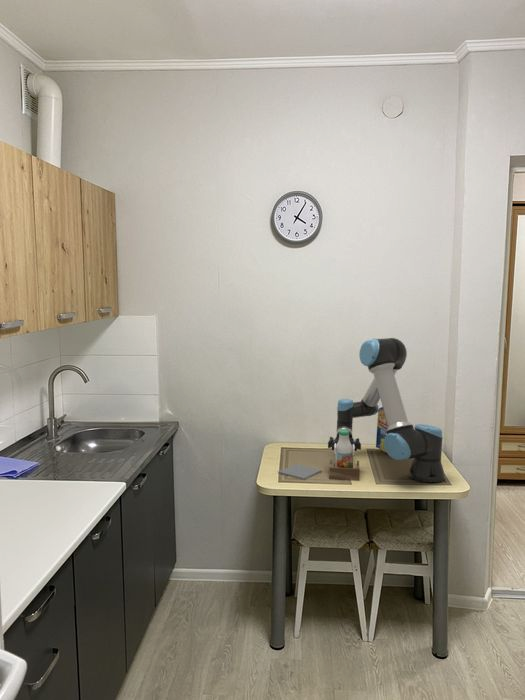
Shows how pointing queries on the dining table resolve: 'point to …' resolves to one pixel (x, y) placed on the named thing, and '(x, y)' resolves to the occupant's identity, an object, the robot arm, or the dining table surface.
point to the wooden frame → (343, 472)
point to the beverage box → (381, 429)
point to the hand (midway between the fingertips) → (344, 451)
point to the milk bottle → (344, 451)
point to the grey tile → (299, 471)
